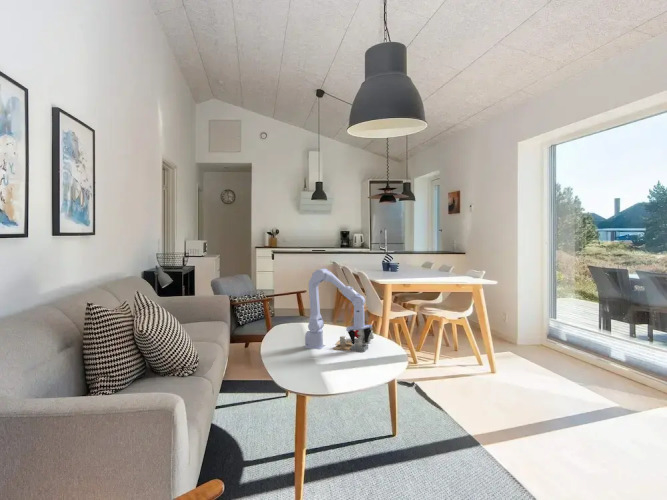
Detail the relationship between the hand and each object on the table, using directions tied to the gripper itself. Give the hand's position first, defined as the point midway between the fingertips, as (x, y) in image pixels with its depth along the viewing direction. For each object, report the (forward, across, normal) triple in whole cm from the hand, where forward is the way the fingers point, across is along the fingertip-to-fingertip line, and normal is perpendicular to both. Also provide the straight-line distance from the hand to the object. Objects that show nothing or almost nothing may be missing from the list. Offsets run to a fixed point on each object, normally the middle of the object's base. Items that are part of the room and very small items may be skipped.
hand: (359, 343), depth 231 cm
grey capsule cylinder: (+3, -6, +9) cm, 11 cm away
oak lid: (+4, -2, +16) cm, 16 cm away
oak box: (+4, -6, +6) cm, 9 cm away
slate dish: (+4, 0, 0) cm, 4 cm away
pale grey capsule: (+3, 0, 0) cm, 3 cm away
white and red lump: (+4, +11, +17) cm, 20 cm away
